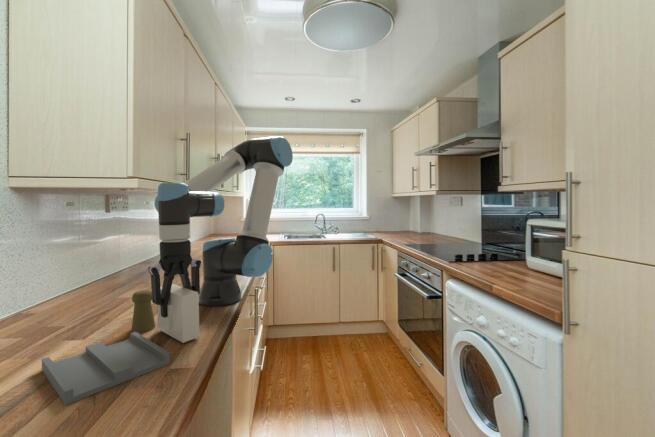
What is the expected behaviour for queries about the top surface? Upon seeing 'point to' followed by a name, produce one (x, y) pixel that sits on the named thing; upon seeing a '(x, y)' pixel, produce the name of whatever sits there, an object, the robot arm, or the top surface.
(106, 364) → the grey grooved stand
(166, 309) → the robot arm
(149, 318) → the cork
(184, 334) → the clay block
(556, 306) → the top surface
